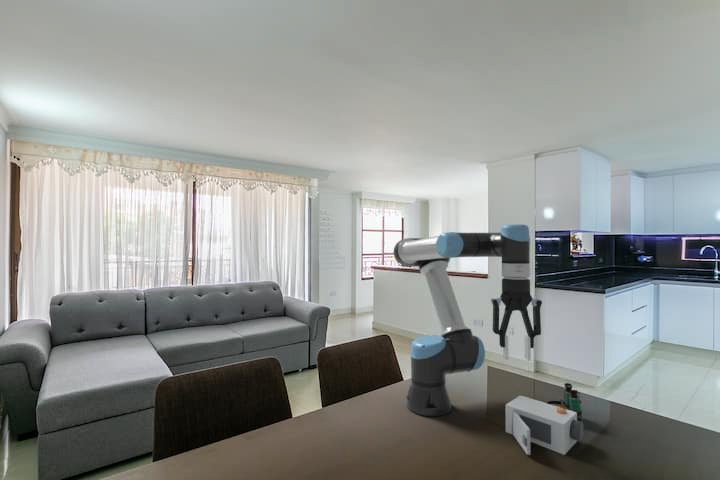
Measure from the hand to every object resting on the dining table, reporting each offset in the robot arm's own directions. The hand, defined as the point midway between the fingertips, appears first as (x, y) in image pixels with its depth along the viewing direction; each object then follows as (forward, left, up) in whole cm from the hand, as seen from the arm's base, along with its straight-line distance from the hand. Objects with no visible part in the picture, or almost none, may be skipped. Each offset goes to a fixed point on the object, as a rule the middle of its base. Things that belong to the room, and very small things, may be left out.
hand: (516, 358), depth 104 cm
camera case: (+4, +6, -23) cm, 24 cm away
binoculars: (+5, +22, -23) cm, 32 cm away
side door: (+2, -4, -22) cm, 22 cm away
